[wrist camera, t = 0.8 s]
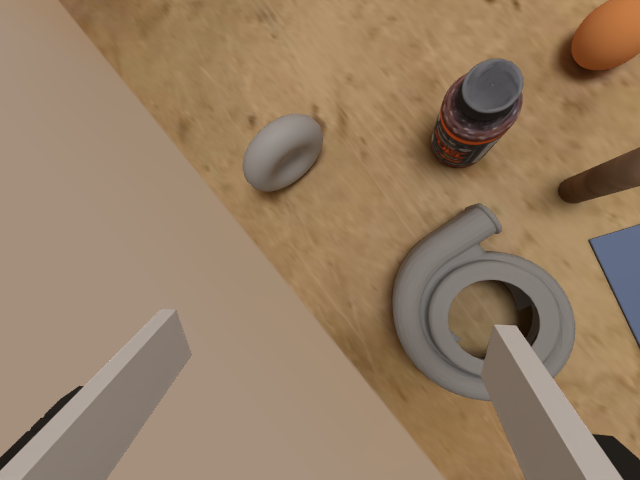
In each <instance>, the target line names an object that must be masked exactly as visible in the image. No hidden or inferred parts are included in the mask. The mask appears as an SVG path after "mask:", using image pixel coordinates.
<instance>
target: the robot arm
mask: <svg viewBox="0 0 640 480" xmlns="http://www.w3.org/2000/svg"><path fill="white" fill-rule="evenodd" d="M191 355H192V354H191V351H190V349H189V346H188V343H187V340H186V337H185V334H184V331H183V328H182V325H181V323H180V320H179V317H178V314H177V311H176V310H168V309H160V310H159V311H158V312H157V313H156V314H155V315H154V316H153V317H152V318H151V319H150V320H149V321H148V322H147V323H146V324H145V325H144V327H142V328H141V329H140V330H139V331H138V332H137V333H136V334H135V335H134V337H133V338H132V339H130V340H129V342H128V343H127V344H126V345H125V346H124V347H123V348H122V349H121V350H120V351H119V352H118V353H117V354H116V355H115V356H114V357H113V358H112V359H111V360H110V361H109V362H108V363H107V364H106V365H105V366H104V367H103V368H102V369H101V370H100V371H99V372H98V373H97V374H96V375H95V376H94V377H93V378H92V379H91V380H90V381H89V382H88V383H87V384H86V385H85V386H79V387H77V388H76V389H74V390H73V391H71V392H70V393H69V394H67V395H66V396H64V397H63V398H61V399H60V400H59V401H58V402H57V403H56V404H55V405H54V406H53V407H52V408H51V409H50V410H49V411H48V412H47V413H46V414H45V416H44V417H43V418H41V419H40V420H38V422H36V424H34V425H33V427H31V430H30V431H27V432H26V433H25V434H24V435H23V436H22V437H21V438H20V439H19V440H18V441H17V442H16V443H15V444H14V445H13V446H12V447H11V448H10V449H9V450H8V451H7V452H6V453H4V454H3V456H1V457H0V480H106V479H107V478H108V476H109V475H110V473H111V472H112V471H113V469H114V468H115V466H116V465H117V463H118V462H119V460H120V459H121V457H122V456H123V454H124V453H125V452H126V450H127V449H128V447H129V446H130V444H131V443H132V441H133V440H134V438H135V437H136V435H137V434H138V433H139V431H140V430H141V428H142V427H143V425H144V424H145V422H146V421H147V419H148V418H149V416H150V415H151V414H152V412H153V411H154V409H155V408H156V406H157V405H158V403H159V402H160V400H161V399H162V398H163V396H164V395H165V393H166V392H167V390H168V389H169V387H170V386H171V384H172V383H173V382H174V380H175V379H176V377H177V376H178V374H179V373H180V371H181V369H182V368H183V367H184V365H185V364H186V363H187V361H188V360H189V358H190V357H191ZM481 378H482V380H483V383H484V385H485V387H486V390H487V392H488V394H489V396H490V399H491V401H492V403H493V406H494V408H495V410H496V413H497V415H498V417H499V419H500V422H501V424H502V426H503V429H504V431H505V433H506V435H507V438H508V440H509V442H510V445H511V447H512V449H513V452H514V454H515V456H516V458H517V461H518V463H519V465H520V468H521V470H522V472H523V475H524V477H525V479H526V480H640V460H639V459H638V458H637V457H636V456H635V455H634V454H633V453H632V452H630V451H629V450H628V449H627V448H626V447H625V446H624V445H622V444H621V443H620V442H619V441H618V440H617V439H616V438H614V437H613V436H606V435H595V434H591V433H590V431H589V430H588V428H587V427H586V425H585V424H584V423H583V421H582V420H581V418H580V417H579V415H578V414H577V412H576V411H575V410H574V408H573V407H572V405H571V404H570V402H569V401H568V400H567V398H566V397H565V395H564V394H563V392H562V391H561V389H560V388H559V387H558V385H557V384H556V382H555V381H554V379H553V378H552V376H551V375H550V374H549V372H548V371H547V369H546V368H545V366H544V365H543V364H542V362H541V361H540V359H539V358H538V356H537V355H536V353H535V352H534V351H533V349H532V348H531V346H530V345H529V343H528V342H527V341H526V339H525V338H524V336H523V335H522V333H521V332H520V330H519V329H518V328H517V326H514V325H494V326H493V330H492V334H491V338H490V341H489V345H488V349H487V353H486V357H485V360H484V364H483V368H482V372H481Z"/></svg>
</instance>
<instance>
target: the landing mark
mask: <svg viewBox="0 0 640 480" xmlns="http://www.w3.org/2000/svg"><path fill="white" fill-rule="evenodd" d="M589 242H590V244H591V246H592V248H593V250H594V253H595V255H596V257H597V259H598V261H599V263H600V265H601V267H602V269H603V271H604V274H605V276H606V278H607V280H608V282H609V284H610V286H611V288H612V290H613V292H614V294H615V297H616V299H617V301H618V303H619V305H620V307H621V309H622V311H623V313H624V315H625V318H626V320H627V322H628V324H629V326H630V328H631V330H632V332H633V334H634V336H635V339H636V341H637V343H638V345H639V347H640V224H639V225H636V226H633V227H629V228H626V229H623V230H619V231H616V232H613V233H610V234H606V235H603V236H600V237H596V238H593V239H590V240H589Z"/></svg>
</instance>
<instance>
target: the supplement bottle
mask: <svg viewBox="0 0 640 480" xmlns="http://www.w3.org/2000/svg"><path fill="white" fill-rule="evenodd" d="M522 89H523V76H522V73H521V71H520V69H519V68H518V67H517V66H516V65H515V64H514V63H512V62H511V61H507V60H505V59H489V60H486V61H483V62H481V63H479V64H477V65H476V66H474V67H473V68H472V69H471V70H470V71H469V72H468V73H467V74H465V75H463V76H462V77H460V78H459V79H458V80H457V81H455V82H454V83H453V84H452V86H451V87H450V88H449V90H448V91H447V93H446V95H445V97H444V100H443V102H442V105H441V109H440V112H439V115H438V118H437V121H436V124H435V128H434V131H433V134H432V140H431V146H432V150H433V153H434V155H435V156H436V158H437V159H438V160H439V161H440V162H441V163H443V164H445V165H447V166H451V167H466V166H469V165H472V164H474V163H476V162H477V161H479V160H480V159H481V158H482V157H483V156H484V155H485V154H486V153H487V152H488V151H489V150H490V149H491V148H492V147H493V146H494V144H495V143H496V142H497V141H498V140H499V139H500V138H501V137H502V136H503V135H504V134H505V133H506V132H507V130H508V129H509V128H510V127H511V126H512V125H513V124H514V122H515V121H516V119H517V117H518V115H519V113H520V111H521V107H522V102H523V97H522Z"/></svg>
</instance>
